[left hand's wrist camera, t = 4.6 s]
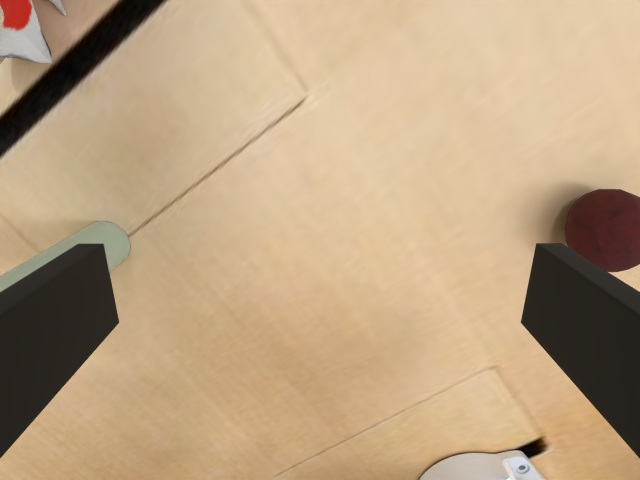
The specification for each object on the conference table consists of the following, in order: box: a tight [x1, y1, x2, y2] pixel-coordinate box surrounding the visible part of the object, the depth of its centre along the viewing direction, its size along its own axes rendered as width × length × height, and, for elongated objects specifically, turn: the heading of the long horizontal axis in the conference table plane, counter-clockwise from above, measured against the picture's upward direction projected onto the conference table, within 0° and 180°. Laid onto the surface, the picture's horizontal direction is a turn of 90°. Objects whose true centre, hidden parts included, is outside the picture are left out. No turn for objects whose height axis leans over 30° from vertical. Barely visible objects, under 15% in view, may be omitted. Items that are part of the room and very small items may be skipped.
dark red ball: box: [565, 189, 640, 272], centre depth 37 cm, size 7×8×7 cm
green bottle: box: [0, 221, 130, 292], centre depth 33 cm, size 5×5×18 cm
